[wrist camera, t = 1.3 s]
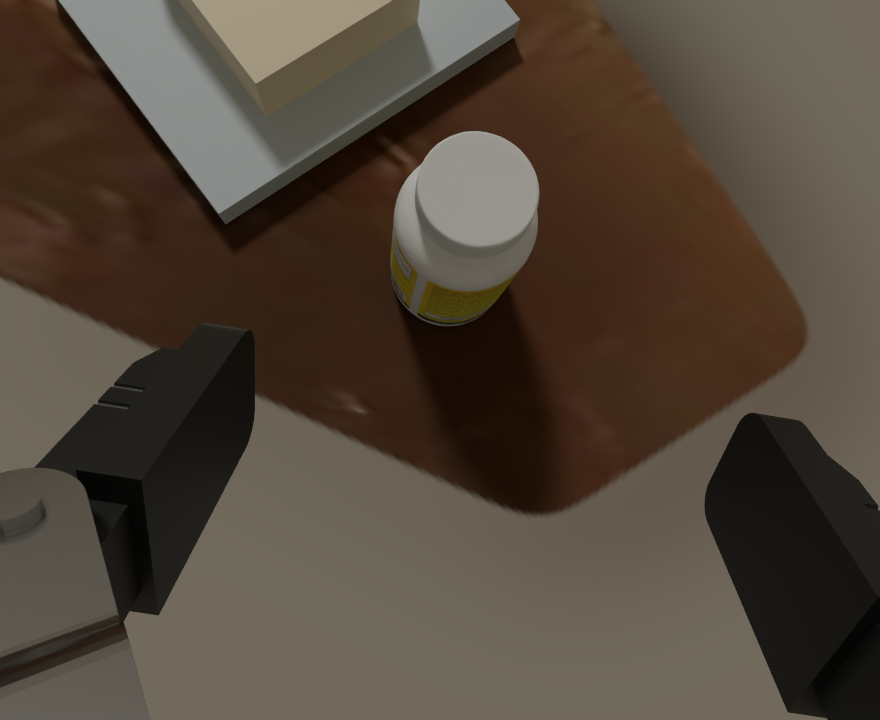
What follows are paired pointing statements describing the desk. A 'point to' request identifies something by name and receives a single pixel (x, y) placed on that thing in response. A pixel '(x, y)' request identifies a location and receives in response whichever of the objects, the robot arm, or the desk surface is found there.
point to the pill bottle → (463, 227)
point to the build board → (293, 132)
